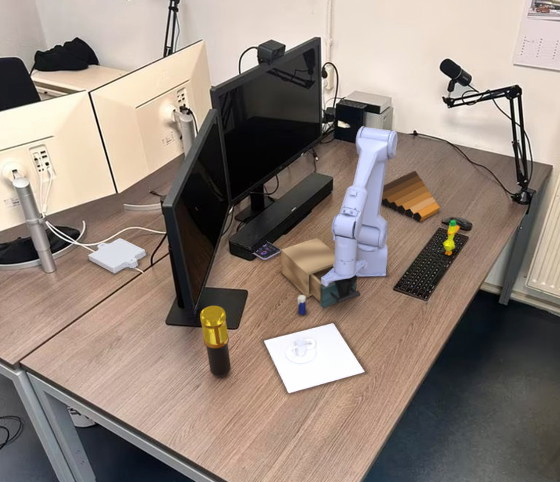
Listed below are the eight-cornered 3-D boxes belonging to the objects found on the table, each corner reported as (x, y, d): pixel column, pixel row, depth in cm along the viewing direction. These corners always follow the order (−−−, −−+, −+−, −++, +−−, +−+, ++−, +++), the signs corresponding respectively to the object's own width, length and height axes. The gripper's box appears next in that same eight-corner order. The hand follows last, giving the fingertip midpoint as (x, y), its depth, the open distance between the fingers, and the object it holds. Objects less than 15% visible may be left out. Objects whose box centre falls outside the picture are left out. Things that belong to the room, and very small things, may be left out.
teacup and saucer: (312, 339, 148) (312, 328, 145) (323, 359, 142) (324, 347, 139) (281, 347, 146) (280, 336, 143) (291, 367, 140) (291, 356, 137)
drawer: (366, 304, 157) (367, 284, 153) (332, 317, 153) (332, 298, 149) (330, 272, 170) (330, 253, 165) (298, 284, 166) (297, 265, 161)
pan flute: (410, 177, 220) (367, 198, 207) (411, 169, 217) (367, 189, 205) (464, 198, 204) (421, 222, 192) (465, 190, 202) (422, 213, 190)
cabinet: (342, 283, 166) (343, 259, 161) (306, 297, 162) (306, 273, 156) (316, 260, 176) (316, 237, 171) (282, 272, 172) (281, 249, 166)
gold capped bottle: (185, 395, 134) (172, 332, 121) (219, 362, 142) (210, 301, 130) (203, 405, 131) (192, 342, 119) (237, 371, 139) (230, 309, 127)
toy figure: (448, 246, 180) (454, 213, 172) (458, 250, 178) (465, 217, 171) (438, 255, 176) (444, 222, 169) (448, 259, 174) (454, 226, 167)
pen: (307, 313, 156) (307, 297, 153) (300, 316, 155) (299, 300, 152) (303, 309, 158) (303, 293, 154) (296, 312, 157) (296, 296, 153)
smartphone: (252, 233, 190) (282, 250, 181) (252, 234, 190) (282, 251, 181) (235, 241, 186) (264, 259, 177) (235, 243, 186) (264, 260, 177)
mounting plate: (151, 257, 181) (150, 252, 180) (119, 276, 174) (118, 271, 172) (116, 240, 190) (115, 235, 189) (84, 257, 183) (83, 252, 181)
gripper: (356, 240, 152) (354, 281, 161) (314, 258, 146) (313, 299, 155) (374, 251, 148) (370, 292, 156) (331, 270, 141) (329, 312, 150)
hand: (343, 296), depth 155 cm, fingers closed, pressing on drawer
